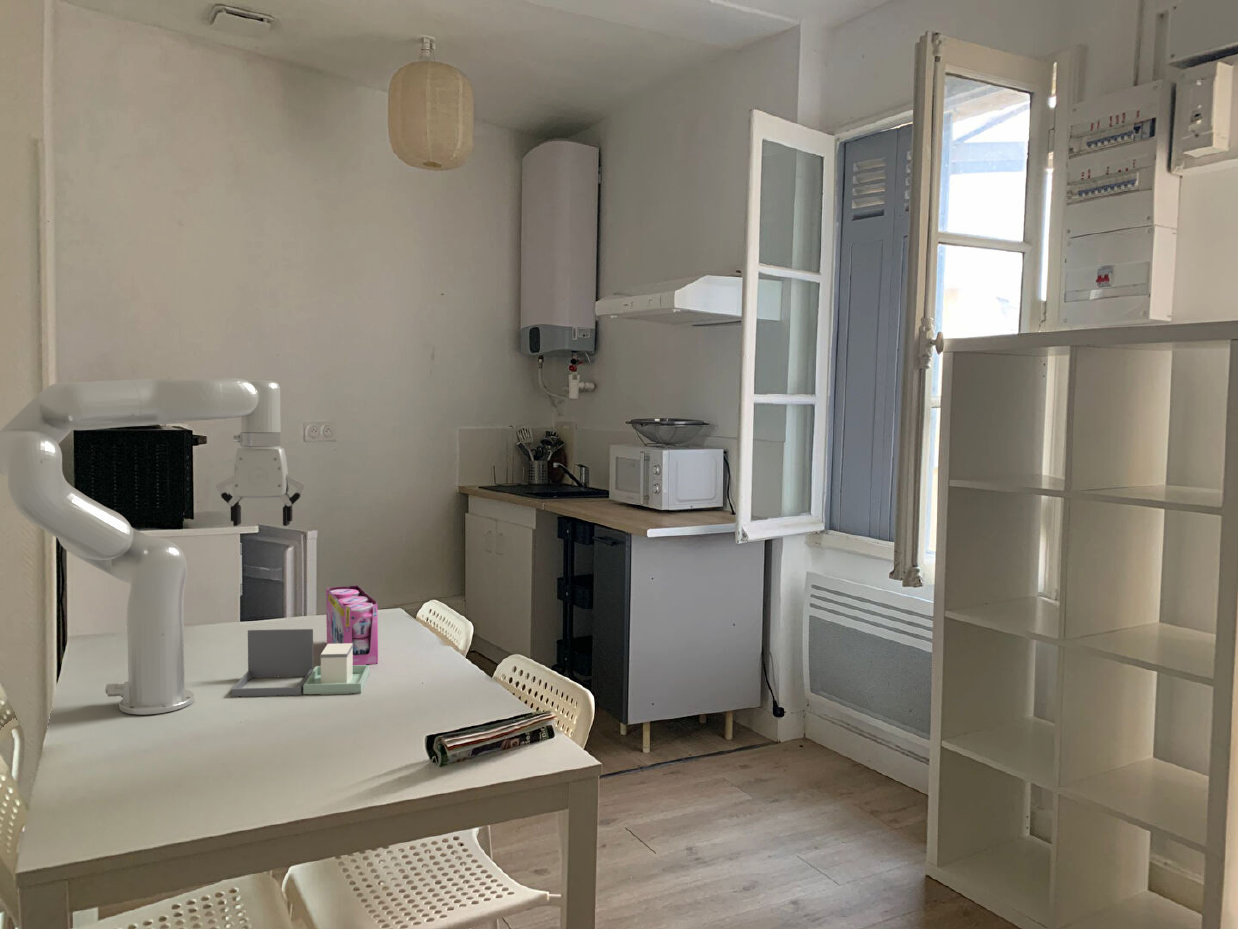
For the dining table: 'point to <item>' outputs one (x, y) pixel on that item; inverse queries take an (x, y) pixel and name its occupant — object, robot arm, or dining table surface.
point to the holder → (277, 659)
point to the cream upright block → (337, 663)
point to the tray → (354, 686)
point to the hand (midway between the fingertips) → (261, 525)
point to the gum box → (353, 622)
